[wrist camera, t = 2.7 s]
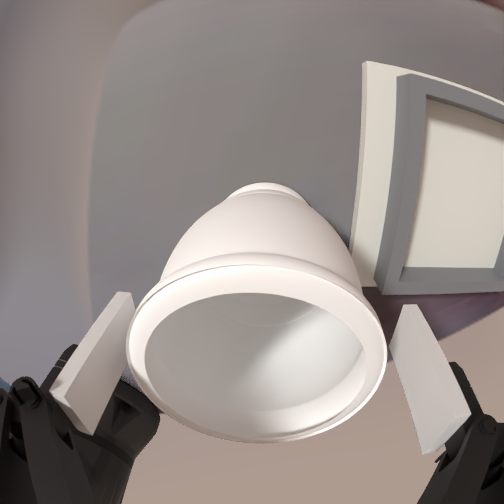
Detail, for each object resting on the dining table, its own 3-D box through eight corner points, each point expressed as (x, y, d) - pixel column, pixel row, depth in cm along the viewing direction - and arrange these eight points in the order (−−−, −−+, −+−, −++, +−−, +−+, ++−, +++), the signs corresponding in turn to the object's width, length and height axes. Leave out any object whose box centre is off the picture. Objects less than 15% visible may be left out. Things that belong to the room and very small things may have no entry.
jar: (313, 296, 26) (336, 449, 13) (198, 280, 26) (142, 425, 13) (342, 180, 22) (436, 287, 8) (207, 159, 22) (105, 239, 8)
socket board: (343, 279, 25) (352, 303, 22) (362, 63, 17) (378, 54, 14) (501, 278, 24) (518, 296, 21) (533, 119, 16) (557, 125, 13)
